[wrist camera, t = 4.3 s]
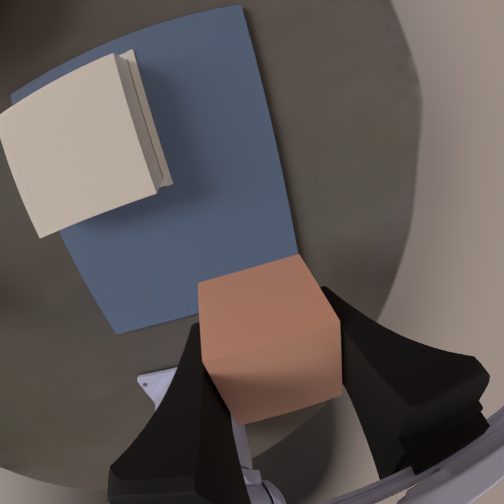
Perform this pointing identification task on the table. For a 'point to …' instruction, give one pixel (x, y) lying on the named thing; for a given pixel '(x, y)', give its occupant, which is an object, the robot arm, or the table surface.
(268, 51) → the table surface
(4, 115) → the base block
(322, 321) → the terracotta block
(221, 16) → the blueprint board
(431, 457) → the robot arm
